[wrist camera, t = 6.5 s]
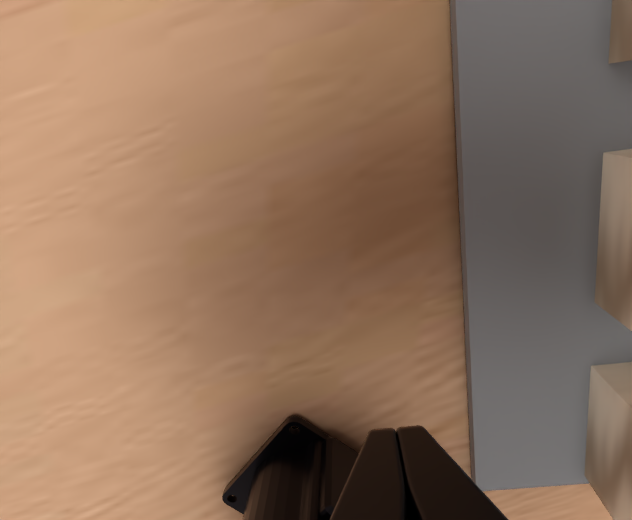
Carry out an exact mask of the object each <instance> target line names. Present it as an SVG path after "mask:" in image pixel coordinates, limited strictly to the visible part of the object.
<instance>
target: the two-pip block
mask: <svg viewBox="0 0 632 520" xmlns="http://www.w3.org/2000/svg"><path fill="white" fill-rule="evenodd" d="M630 60H632V0H612V12H611V29H610V46H609V63H608V64H610V63H617V62H623V61H630Z"/></svg>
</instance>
